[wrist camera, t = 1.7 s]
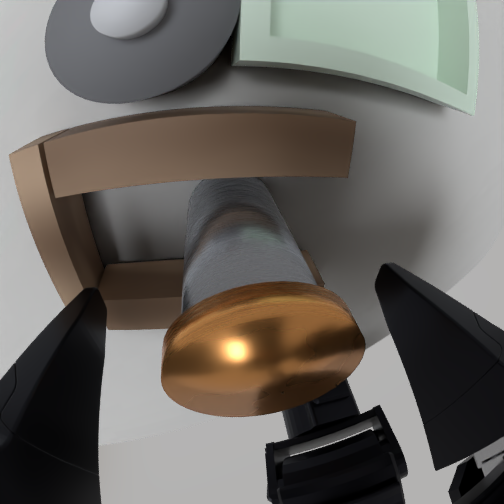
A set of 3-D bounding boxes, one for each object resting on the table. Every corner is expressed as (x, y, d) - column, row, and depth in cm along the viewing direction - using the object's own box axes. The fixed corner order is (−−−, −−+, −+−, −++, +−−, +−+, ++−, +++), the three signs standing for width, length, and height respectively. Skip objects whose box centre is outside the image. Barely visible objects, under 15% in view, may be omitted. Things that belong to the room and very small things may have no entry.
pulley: (230, 91, 9) (241, 94, 6) (78, 111, 8) (35, 128, 5) (235, -41, 5) (248, -79, 2) (81, -17, 4) (44, -37, 2)
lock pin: (277, 248, 13) (334, 399, 7) (184, 255, 12) (183, 421, 6) (284, 159, 10) (396, 298, 4) (174, 164, 10) (132, 327, 4)
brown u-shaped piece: (301, 280, 15) (315, 314, 13) (90, 294, 13) (79, 329, 11) (325, 110, 9) (356, 121, 7) (42, 136, 8) (8, 154, 6)
